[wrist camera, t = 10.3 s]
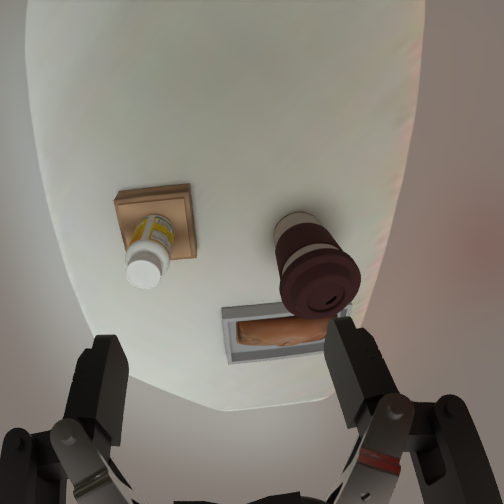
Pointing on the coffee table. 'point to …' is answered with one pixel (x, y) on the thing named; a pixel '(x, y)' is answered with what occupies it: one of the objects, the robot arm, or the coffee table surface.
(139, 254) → the supplement bottle
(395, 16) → the coffee table surface
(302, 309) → the coffee cup
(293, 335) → the brown elongated piece
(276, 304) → the tray
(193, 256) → the walnut base
